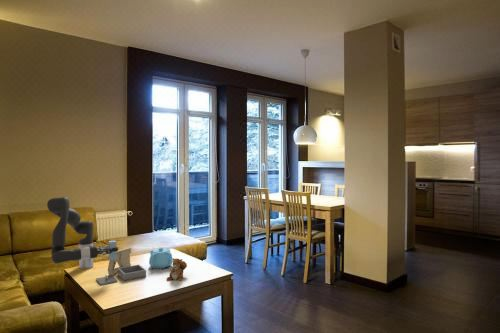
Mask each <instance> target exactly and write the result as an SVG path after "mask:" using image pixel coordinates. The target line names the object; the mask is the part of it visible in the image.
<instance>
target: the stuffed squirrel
mask: <svg viewBox="0 0 500 333" xmlns="http://www.w3.org/2000/svg"><path fill="white" fill-rule="evenodd" d="M172 258H173V257H172ZM171 267H172V268H171V269H170V273H169V276H168V277H166V281H171V280H174V281H175V280H176V281H180V282H182V281H183V280H184V271H185V269H186V268H187V267H188V264H187V262H186V261H184V260H183V259H182V258H181V259H180V258H173V262H172V264H171Z"/></svg>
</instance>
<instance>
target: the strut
mask: <svg viewBox="0 0 500 333" xmlns="http://www.w3.org/2000/svg"><path fill="white" fill-rule="evenodd" d="M107 246H108V247H109V248H117V241H116V240H109V241H108V245H107ZM109 251H110V250H109ZM109 251H108V252H109ZM116 259H117V251H115V252H112V253H110V254H108V260H109V261H110V260H116Z"/></svg>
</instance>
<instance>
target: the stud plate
mask: <svg viewBox="0 0 500 333" xmlns="http://www.w3.org/2000/svg"><path fill="white" fill-rule="evenodd" d="M96 282H97V283H98V285H100V286H104V285H109V284H114V283H117V282H118V280H117V278H116V277H115V276H114V275H109V274H105V276H102V277H99V278H98V277H97V278H96Z"/></svg>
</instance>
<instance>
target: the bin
mask: <svg viewBox="0 0 500 333" xmlns="http://www.w3.org/2000/svg"><path fill="white" fill-rule="evenodd" d="M117 268H118V267H117ZM117 275H118V276H119V277H120V279H122V281H123V282H128V281H131V280H132V281H133V280H139V279H142V278H146V277H147V269H146V268H144V267H143V266H141V265H140V264H135V265H130V266H128V267H123V268H118V271H117Z"/></svg>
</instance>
